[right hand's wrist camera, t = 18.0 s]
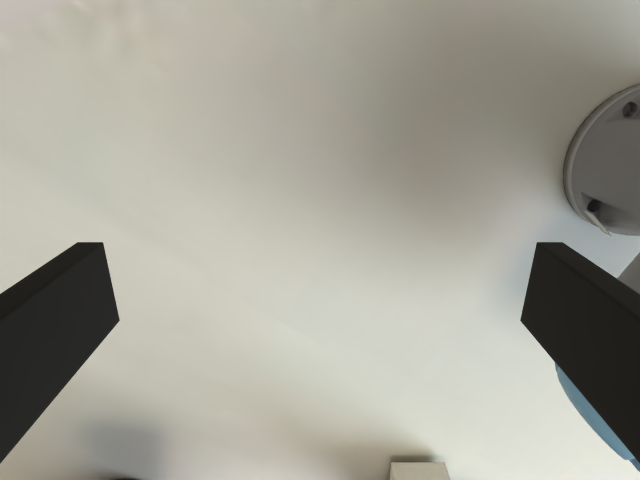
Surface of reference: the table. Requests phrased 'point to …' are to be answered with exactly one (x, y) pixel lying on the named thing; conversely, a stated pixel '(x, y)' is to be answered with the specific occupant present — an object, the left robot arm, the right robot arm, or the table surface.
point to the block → (418, 471)
